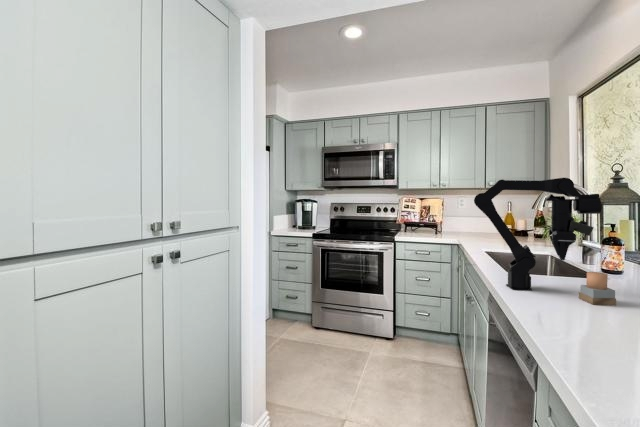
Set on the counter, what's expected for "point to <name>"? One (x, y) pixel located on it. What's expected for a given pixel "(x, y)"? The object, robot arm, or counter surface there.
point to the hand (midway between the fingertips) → (560, 257)
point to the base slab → (597, 300)
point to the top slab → (598, 292)
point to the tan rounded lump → (597, 280)
